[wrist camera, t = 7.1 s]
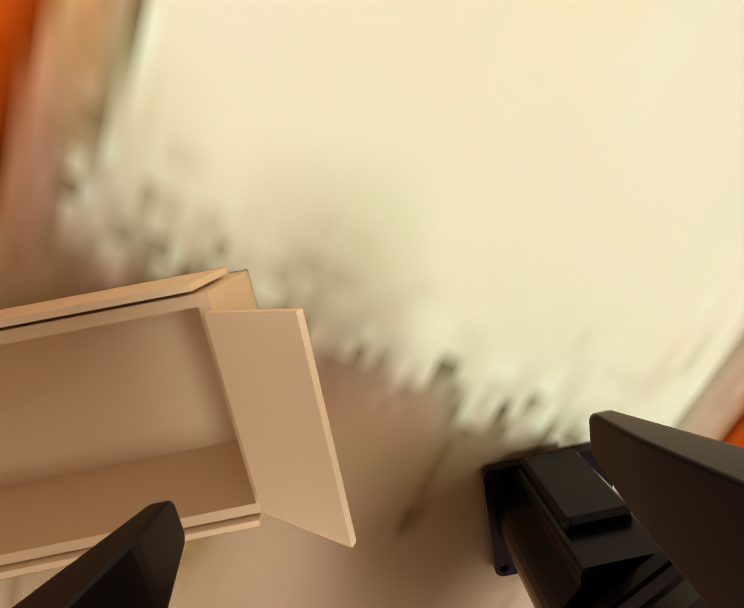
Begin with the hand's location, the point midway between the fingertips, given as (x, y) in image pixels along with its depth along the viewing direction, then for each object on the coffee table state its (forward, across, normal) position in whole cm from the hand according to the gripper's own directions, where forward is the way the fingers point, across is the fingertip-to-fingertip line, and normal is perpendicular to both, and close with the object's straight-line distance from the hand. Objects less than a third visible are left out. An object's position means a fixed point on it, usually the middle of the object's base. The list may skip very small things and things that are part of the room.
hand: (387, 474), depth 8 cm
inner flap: (+3, +3, 0) cm, 4 cm away
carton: (+10, +12, 0) cm, 16 cm away
